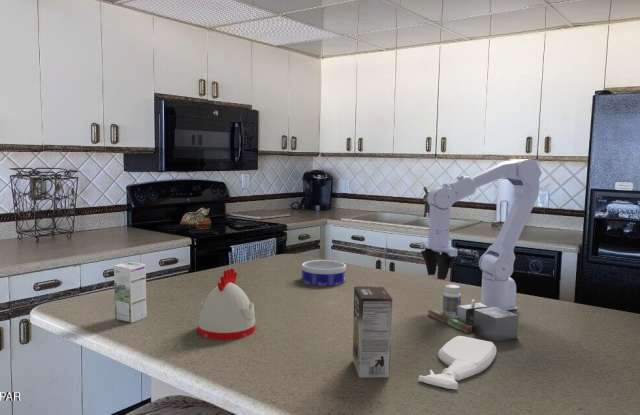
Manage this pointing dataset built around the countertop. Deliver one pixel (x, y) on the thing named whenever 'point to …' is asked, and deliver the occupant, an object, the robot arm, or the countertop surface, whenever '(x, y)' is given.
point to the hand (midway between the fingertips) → (436, 276)
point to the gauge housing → (495, 324)
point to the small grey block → (469, 312)
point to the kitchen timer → (226, 311)
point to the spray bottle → (461, 361)
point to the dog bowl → (323, 272)
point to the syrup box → (130, 291)
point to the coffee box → (372, 331)
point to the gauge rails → (450, 321)
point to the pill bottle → (451, 300)
